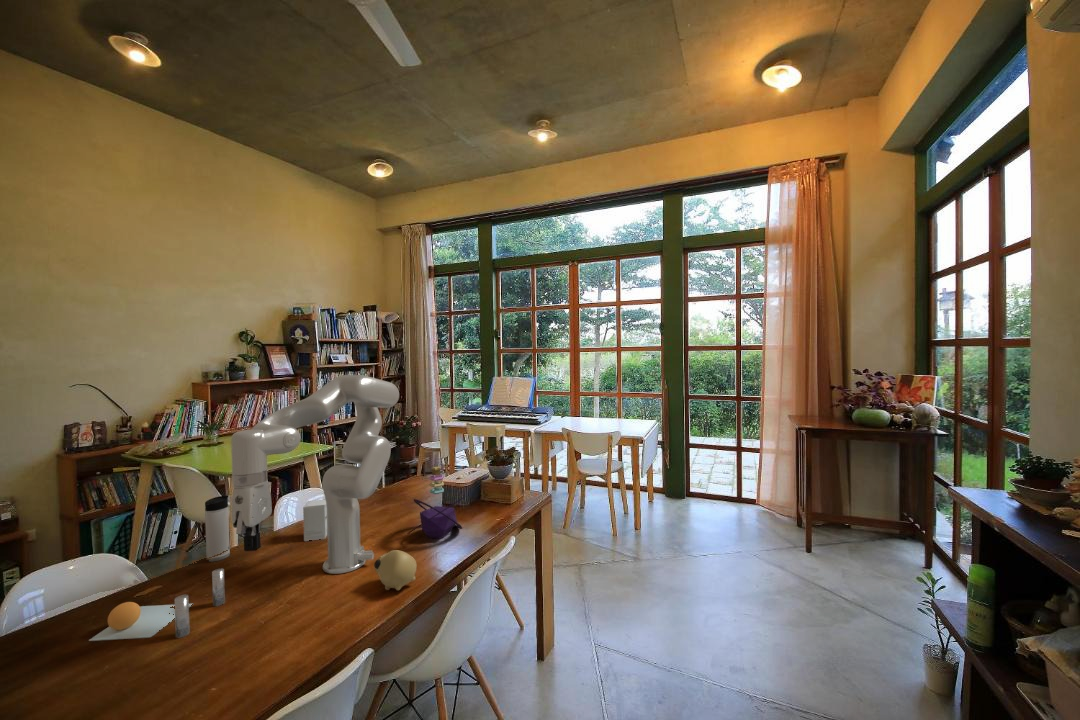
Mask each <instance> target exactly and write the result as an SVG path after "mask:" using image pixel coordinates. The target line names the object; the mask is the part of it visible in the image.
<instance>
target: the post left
mask: <svg viewBox="0 0 1080 720" xmlns="http://www.w3.org/2000/svg"><path fill="white" fill-rule="evenodd" d="M189 599H190V598H189V594H182V595H181V594H180V595H179V596H177V597H174V605H175V619H174V623H175V625H174V627H175V638H176V639H180V638H184V637H186V636H189V634H190V633H191V632H190V631H191V630H190V607H189V604H190V603H189V602H190V601H189Z"/></svg>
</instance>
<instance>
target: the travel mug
mask: <svg viewBox="0 0 1080 720" xmlns="http://www.w3.org/2000/svg"><path fill="white" fill-rule="evenodd" d="M204 509H205V510H204V515H205V517H204V520H205V521H204V522H205V524H204V525H205V547H206V549H205V550H206V559H207V558H209V557H212V556H214V555H217V554H220V553H222V552H223V551H226V550H228V551H226V552H224V553H222V554H221V555H218V556H215V557H212V558H209V559H211V560H209V561H208V562H218V561H222V560H224V559H227V558H228V557H230V554H231V552H230V551H231V550H230V549H231V548H230V547H231V546H230V521H229V520H230V517H229V516H230V515H229V495H228V494H222V495H221V496H215V497H212V498H210V499H207V500H206V501H205V502H204Z"/></svg>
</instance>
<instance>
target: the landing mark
mask: <svg viewBox="0 0 1080 720" xmlns="http://www.w3.org/2000/svg"><path fill="white" fill-rule="evenodd" d="M192 604H193V603H189V608H190V607H192V606H193V605H192ZM191 605H192V606H191ZM172 606H173V607H174V606H175V604H162V605H161V604H160V605H159V604H158V605H145V606H144V605H142V606H140V605H139V607H140V609H141V613H140V616H139V618H138V620H137V621H136V622H135V623H134V624H133V625H131V626H130V627H128V628H126V629H122V630H115V629H112V628H111V627H110V626H109V625H108V627H107V628H105V629H103V630H101V631H100V632H99V633H97V634H96V635H94V636H92V638H91V637H90V639H88V641H89V642H95V641H96V642H97V641H113V640H124V639H125V640H127V639H128V640H131V639H146V638H147V639H148V638H152V637H153V636H155V635H156V634H157V633H158V632H160V631H161V630H162V629H163V627H164V628H165V627H166V626H167V625H169V624H170V623H171V622H173V621H174V620H175V619H174V618H175V609H174V608H170V607H172ZM169 613H170V614H169ZM173 614H174V615H173ZM173 619H174V620H173ZM172 620H173V621H172ZM169 622H170V623H169ZM168 623H169V624H168ZM159 630H160V631H159Z"/></svg>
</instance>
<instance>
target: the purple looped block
mask: <svg viewBox="0 0 1080 720" xmlns="http://www.w3.org/2000/svg"><path fill="white" fill-rule="evenodd" d="M441 471H442V467H441V466H434V467H431V472H432V473H431V476H429V477H428V479H429V480H430V481H432V482H430V483H429V484H428V486H429V487H431V488H432V489H430V490H429V493H430V494H433V495H439V494H443V493H444V492H445V491H444V490H445V489H444V488H443V487H444V485H445V483H444V481H443V479H444V475H443V474H441ZM466 497H467V495H465V496H463V497H461V498H459V499H458V500H457V501H455V502H453V503H452V504H450V505H449V506H438V505H435V506H432V505H430V504H428V503H425V502H424V501H422V500H419V499H416V498H413V501H414V503H415V504H416V505H417V506H419V507H420V508H422V509H423V510H422V511H420V512H419V515H420V523H421V524H419V525H418V526H416V527H415V528H413V529H412V530H410V531H408V532H407V533H406V534H407V535H409V534H410V533H412V532H414V531H415V530H417V529H418V528H420V527H421V530H422V532H424V534H425V535H426V536H427V537H428V538H430V539H443V537H445V536H447V535H448V534H449V533H451V531H452V529H454V527H455V528H456V529H460V530H462V529H463V527H462V525H461V524H459V523H458V520H457V516H456V509H455V507H452V506H454V505H455V504H456V503H458V502H460V501H462V500H463V499H464V498H466ZM438 504H440V503H439V502H438ZM423 505H425V506H426V507H429V508H428V509H427V508H426V507H425V506H423Z"/></svg>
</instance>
